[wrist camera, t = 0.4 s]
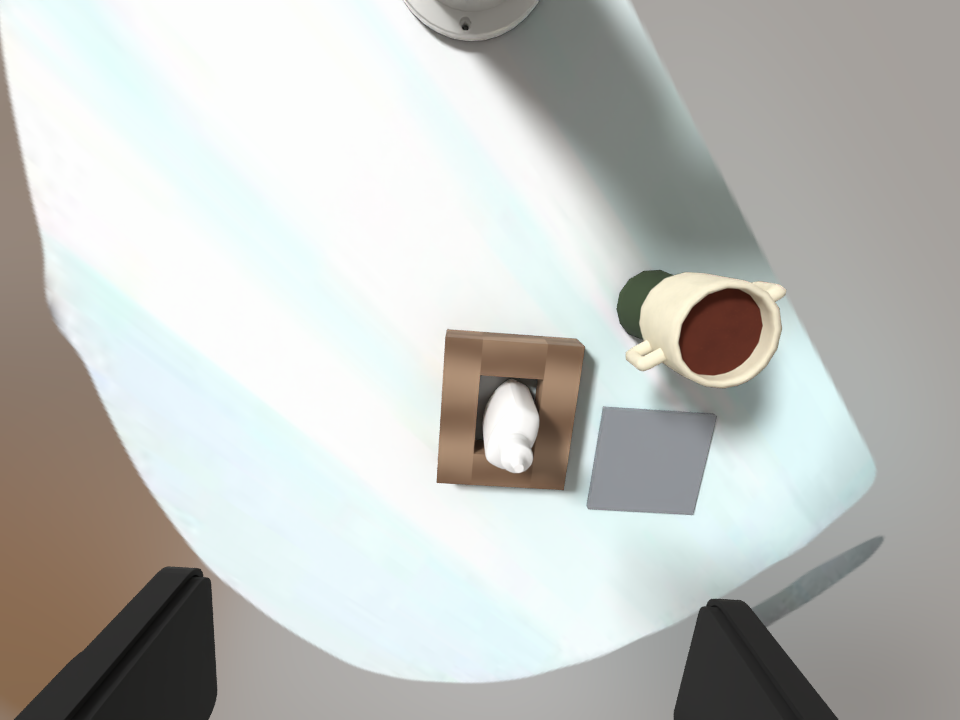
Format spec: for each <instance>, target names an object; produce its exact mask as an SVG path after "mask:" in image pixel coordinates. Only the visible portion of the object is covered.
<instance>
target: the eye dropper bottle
mask: <svg viewBox="0 0 960 720" xmlns="http://www.w3.org/2000/svg"><path fill="white" fill-rule="evenodd" d="M482 425H483V437H484V448H485V456H486V459H487V460H488V461H489V462H490V463H491V464H493V465H495V466H497V467H499V468H501V469H506V470H507V471H509V472H512V473H521V472H524V471H525V470H527V469H528V468H529V467H530V466H531V464H532V461H533V454H532V450H531V448H532V446H533V444H534V442H535V440H536V437H537V433H538V429H539V415H538V412H537V409H536V406H535V404H534V401H533V398H532V396H531V393H530V391H529V388H528V387H527V386H526V385H524V384H522V383H520V382H518V381H516V380H514V379H509V380H507V381H505V382H504V383H503V384H501V385H500V386H499V387H498V388H497V389H496V390H495V391H494V393H493V394H492V395H491V397H490V399H489V400H488V402H487V405H486V407H485V410H484V414H483V421H482Z"/></svg>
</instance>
